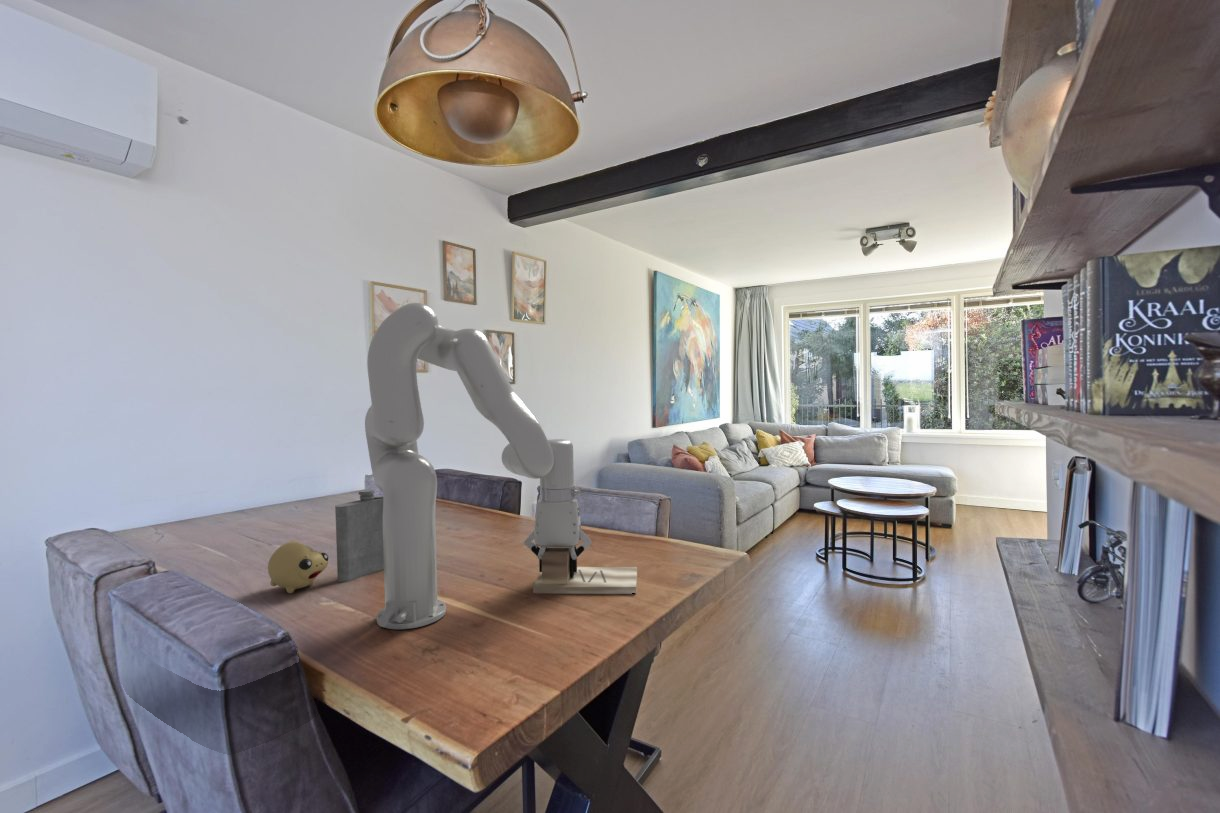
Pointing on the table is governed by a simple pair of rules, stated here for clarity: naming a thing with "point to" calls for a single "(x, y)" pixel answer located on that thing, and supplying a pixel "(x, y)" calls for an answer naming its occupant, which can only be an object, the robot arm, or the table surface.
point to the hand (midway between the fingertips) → (558, 574)
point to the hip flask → (359, 536)
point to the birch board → (594, 581)
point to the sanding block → (556, 565)
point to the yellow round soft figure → (295, 566)
